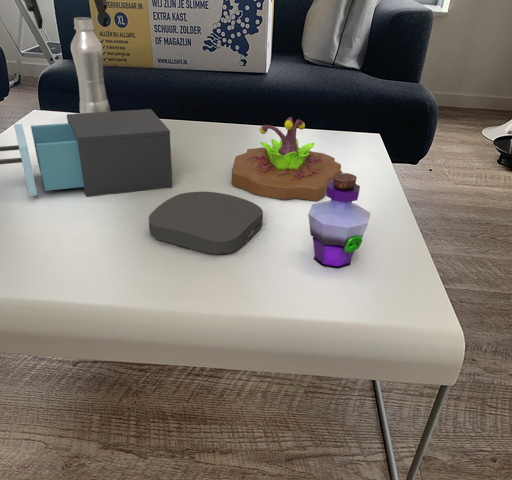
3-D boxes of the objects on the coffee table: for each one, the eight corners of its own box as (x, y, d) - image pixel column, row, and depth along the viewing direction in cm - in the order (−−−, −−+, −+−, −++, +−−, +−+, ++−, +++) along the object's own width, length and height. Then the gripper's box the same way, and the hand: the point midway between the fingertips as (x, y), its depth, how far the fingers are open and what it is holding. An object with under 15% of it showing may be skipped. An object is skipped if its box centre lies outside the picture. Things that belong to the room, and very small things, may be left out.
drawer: (-5, 199, 85) (-18, 149, 80) (-7, 173, 93) (-19, 126, 88) (115, 187, 91) (109, 139, 86) (102, 163, 99) (97, 118, 94)
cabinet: (86, 196, 89) (77, 137, 83) (75, 169, 98) (66, 114, 92) (172, 187, 94) (169, 130, 88) (154, 162, 103) (151, 108, 97)
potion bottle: (344, 281, 72) (359, 195, 65) (290, 259, 76) (298, 176, 69) (373, 257, 78) (390, 175, 70) (322, 238, 82) (333, 159, 74)
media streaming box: (139, 237, 79) (137, 218, 77) (189, 201, 90) (188, 183, 88) (229, 261, 75) (229, 241, 73) (270, 220, 86) (271, 202, 84)
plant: (217, 191, 94) (217, 123, 87) (245, 154, 109) (247, 94, 102) (332, 207, 91) (342, 139, 84) (345, 167, 106) (354, 106, 99)
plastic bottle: (115, 119, 123) (104, 17, 110) (105, 128, 117) (92, 22, 105) (88, 117, 123) (74, 15, 111) (76, 125, 118) (60, 19, 106)
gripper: (99, -54, 124) (127, 32, 124) (-19, -57, 114) (11, 37, 113) (103, -82, 118) (133, 9, 117) (-22, -88, 107) (10, 11, 106)
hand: (73, 23), depth 115 cm, fingers open, 13 cm apart
